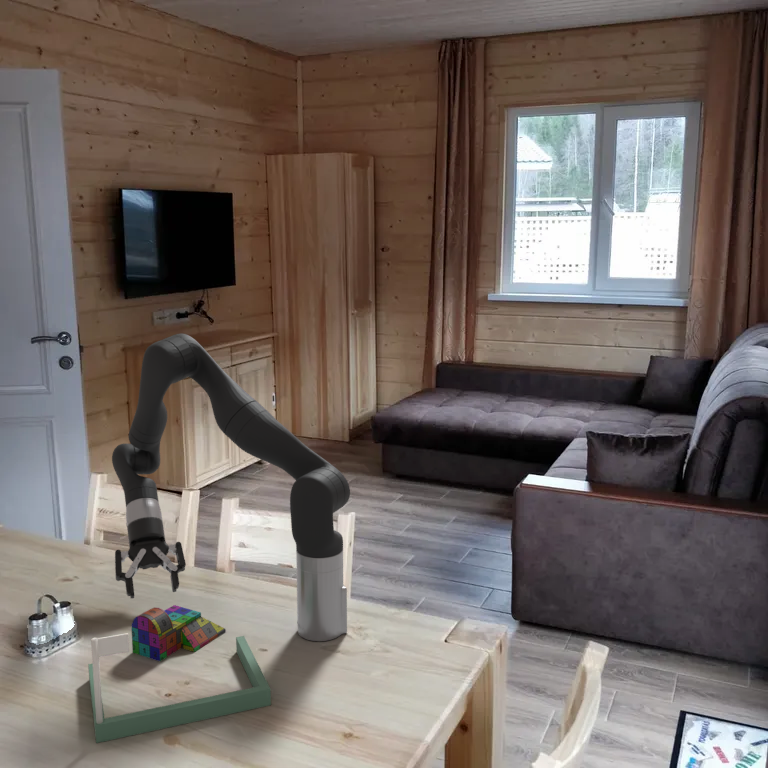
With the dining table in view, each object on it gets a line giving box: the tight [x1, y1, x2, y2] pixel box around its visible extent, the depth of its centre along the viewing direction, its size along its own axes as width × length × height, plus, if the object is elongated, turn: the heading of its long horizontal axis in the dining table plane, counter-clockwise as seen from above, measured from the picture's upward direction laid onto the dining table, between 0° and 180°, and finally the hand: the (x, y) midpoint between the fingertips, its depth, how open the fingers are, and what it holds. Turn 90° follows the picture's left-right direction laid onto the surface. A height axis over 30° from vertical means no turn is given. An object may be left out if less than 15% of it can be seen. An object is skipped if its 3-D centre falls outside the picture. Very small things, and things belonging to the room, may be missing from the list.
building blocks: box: [131, 604, 227, 662], centre depth 159 cm, size 15×10×8 cm
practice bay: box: [88, 632, 272, 744], centre depth 141 cm, size 28×20×17 cm
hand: (153, 593), depth 171 cm, fingers open, 8 cm apart
